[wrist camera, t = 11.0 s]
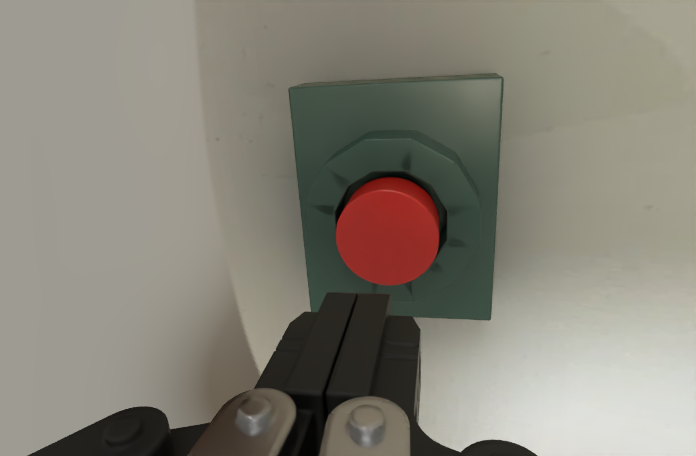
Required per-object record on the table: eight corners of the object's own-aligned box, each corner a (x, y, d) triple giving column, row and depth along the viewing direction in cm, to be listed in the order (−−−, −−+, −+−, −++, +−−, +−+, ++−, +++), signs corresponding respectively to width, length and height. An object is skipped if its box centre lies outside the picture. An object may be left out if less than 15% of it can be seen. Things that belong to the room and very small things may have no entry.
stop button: (341, 176, 18) (331, 190, 16) (439, 175, 17) (439, 189, 15) (347, 264, 19) (338, 284, 17) (439, 266, 18) (438, 287, 17)
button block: (302, 83, 20) (272, 91, 17) (497, 73, 19) (510, 80, 15) (321, 290, 24) (299, 335, 20) (486, 296, 22) (495, 346, 19)
